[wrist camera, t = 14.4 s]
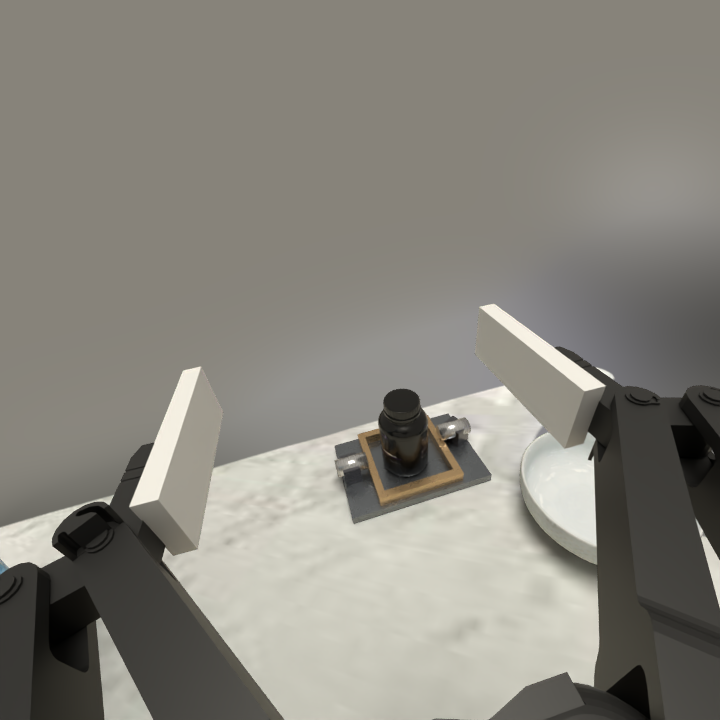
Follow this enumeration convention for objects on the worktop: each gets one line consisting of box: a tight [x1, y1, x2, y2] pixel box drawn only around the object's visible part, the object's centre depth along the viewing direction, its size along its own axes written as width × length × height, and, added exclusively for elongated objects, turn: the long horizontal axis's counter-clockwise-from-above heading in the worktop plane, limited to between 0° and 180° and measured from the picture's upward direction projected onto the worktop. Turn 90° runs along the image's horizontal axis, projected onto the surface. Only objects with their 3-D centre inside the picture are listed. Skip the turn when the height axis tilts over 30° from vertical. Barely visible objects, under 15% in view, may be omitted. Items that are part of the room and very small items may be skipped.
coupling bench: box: [334, 414, 491, 523], centre depth 49 cm, size 21×13×5 cm, turn 104°
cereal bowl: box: [520, 432, 703, 565], centre depth 39 cm, size 17×17×7 cm
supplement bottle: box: [378, 389, 428, 477], centre depth 47 cm, size 7×7×12 cm
